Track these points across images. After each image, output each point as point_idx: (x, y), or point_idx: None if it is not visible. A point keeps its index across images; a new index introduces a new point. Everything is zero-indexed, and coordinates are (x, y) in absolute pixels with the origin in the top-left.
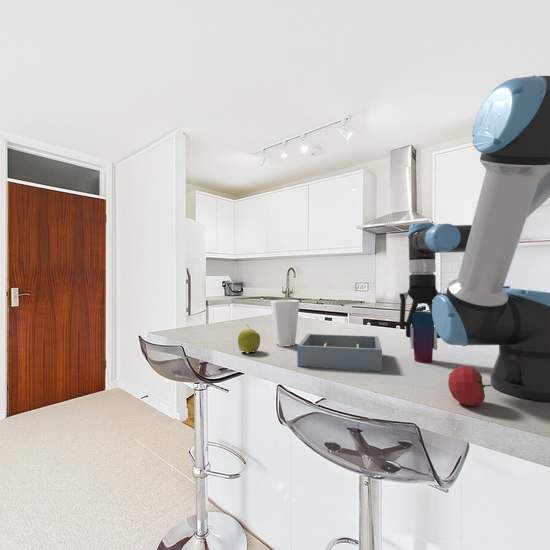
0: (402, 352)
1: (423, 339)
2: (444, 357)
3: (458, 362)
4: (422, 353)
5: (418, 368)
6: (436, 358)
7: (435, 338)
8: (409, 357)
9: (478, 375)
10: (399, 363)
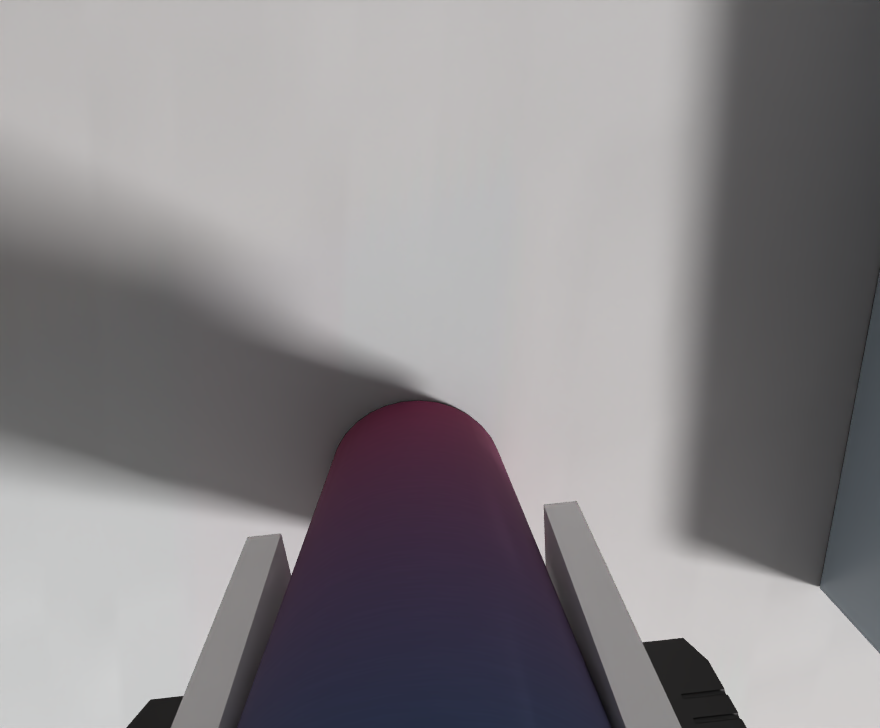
0: None
1: (425, 562)
2: None
3: (84, 518)
4: (433, 445)
5: (492, 147)
6: None
7: (220, 665)
8: None
9: None
10: (672, 302)
